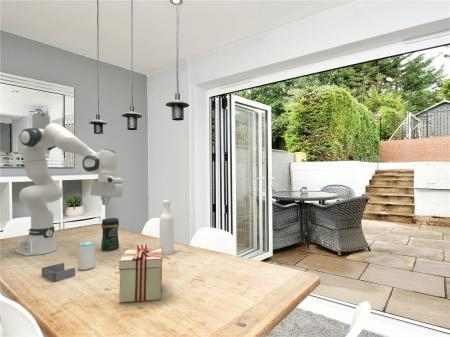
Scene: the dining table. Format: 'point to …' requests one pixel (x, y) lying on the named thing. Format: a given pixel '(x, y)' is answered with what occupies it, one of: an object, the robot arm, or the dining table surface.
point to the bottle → (167, 230)
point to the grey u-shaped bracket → (57, 272)
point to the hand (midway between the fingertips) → (105, 204)
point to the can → (86, 256)
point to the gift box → (141, 274)
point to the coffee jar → (110, 234)
